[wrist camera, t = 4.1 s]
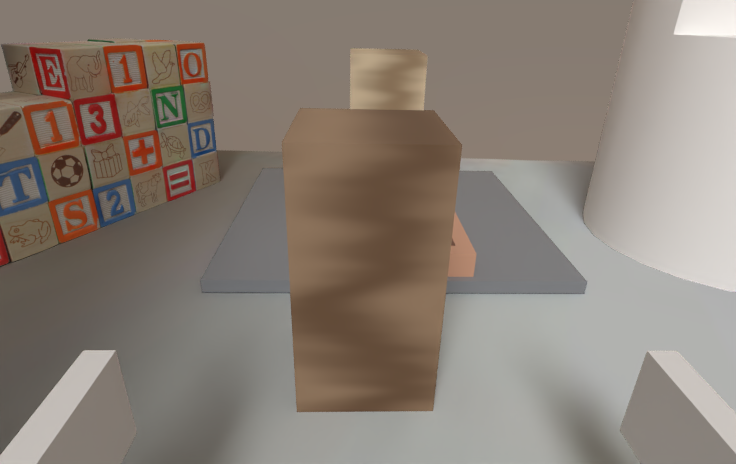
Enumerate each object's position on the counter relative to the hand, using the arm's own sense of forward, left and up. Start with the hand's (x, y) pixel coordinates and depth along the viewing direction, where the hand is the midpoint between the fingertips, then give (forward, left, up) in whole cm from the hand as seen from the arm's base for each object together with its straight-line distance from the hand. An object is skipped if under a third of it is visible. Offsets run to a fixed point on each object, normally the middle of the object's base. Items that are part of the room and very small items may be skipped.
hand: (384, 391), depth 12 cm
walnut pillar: (0, +8, -6) cm, 10 cm away
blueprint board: (+2, +24, -6) cm, 25 cm away
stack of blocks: (-21, +25, -6) cm, 33 cm away
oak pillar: (+2, +29, -5) cm, 30 cm away
